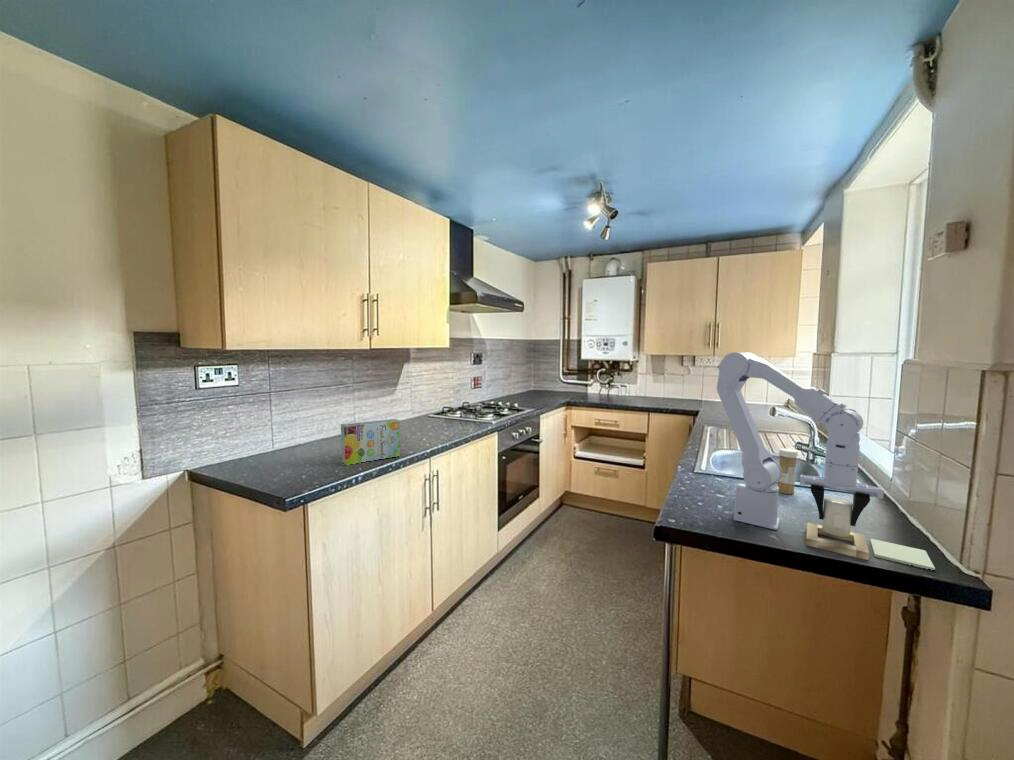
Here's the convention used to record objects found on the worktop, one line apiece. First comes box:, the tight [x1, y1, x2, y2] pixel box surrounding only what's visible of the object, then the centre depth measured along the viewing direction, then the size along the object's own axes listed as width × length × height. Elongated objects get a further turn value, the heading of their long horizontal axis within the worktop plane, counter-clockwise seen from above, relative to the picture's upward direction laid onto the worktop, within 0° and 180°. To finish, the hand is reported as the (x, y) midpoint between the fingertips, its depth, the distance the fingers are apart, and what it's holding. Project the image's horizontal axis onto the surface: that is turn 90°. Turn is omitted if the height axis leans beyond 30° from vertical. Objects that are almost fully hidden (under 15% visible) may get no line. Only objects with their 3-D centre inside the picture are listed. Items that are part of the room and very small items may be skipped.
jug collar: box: [805, 522, 870, 561], centre depth 92 cm, size 11×11×2 cm
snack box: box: [340, 418, 401, 466], centre depth 156 cm, size 21×6×15 cm, turn 125°
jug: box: [821, 497, 853, 537], centre depth 91 cm, size 7×5×7 cm
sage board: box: [869, 538, 936, 571], centre depth 87 cm, size 9×9×1 cm
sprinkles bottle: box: [777, 447, 798, 495], centre depth 125 cm, size 5×5×14 cm
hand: (836, 521), depth 92 cm, fingers closed on jug, 5 cm apart
